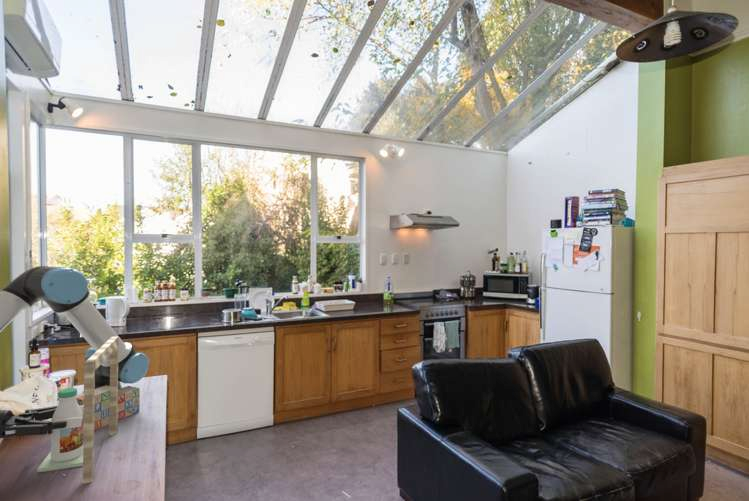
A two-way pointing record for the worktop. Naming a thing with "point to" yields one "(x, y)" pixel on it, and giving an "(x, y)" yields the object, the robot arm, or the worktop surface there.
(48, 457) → the sage mat
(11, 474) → the worktop surface
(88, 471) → the door frame
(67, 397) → the milk bottle
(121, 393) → the stack of blocks
